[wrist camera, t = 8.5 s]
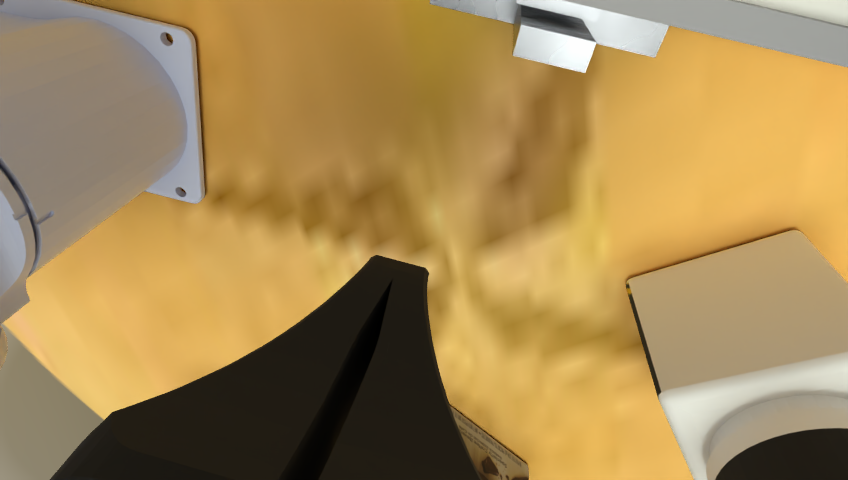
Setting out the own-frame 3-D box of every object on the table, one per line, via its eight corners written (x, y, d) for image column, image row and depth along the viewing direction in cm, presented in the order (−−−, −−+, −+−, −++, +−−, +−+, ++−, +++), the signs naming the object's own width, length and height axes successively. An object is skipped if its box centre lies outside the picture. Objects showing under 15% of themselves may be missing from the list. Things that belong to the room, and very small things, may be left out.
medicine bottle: (622, 277, 23) (700, 547, 13) (799, 223, 21) (1059, 512, 11) (665, 379, 26) (755, 663, 16) (824, 344, 24) (1049, 658, 14)
